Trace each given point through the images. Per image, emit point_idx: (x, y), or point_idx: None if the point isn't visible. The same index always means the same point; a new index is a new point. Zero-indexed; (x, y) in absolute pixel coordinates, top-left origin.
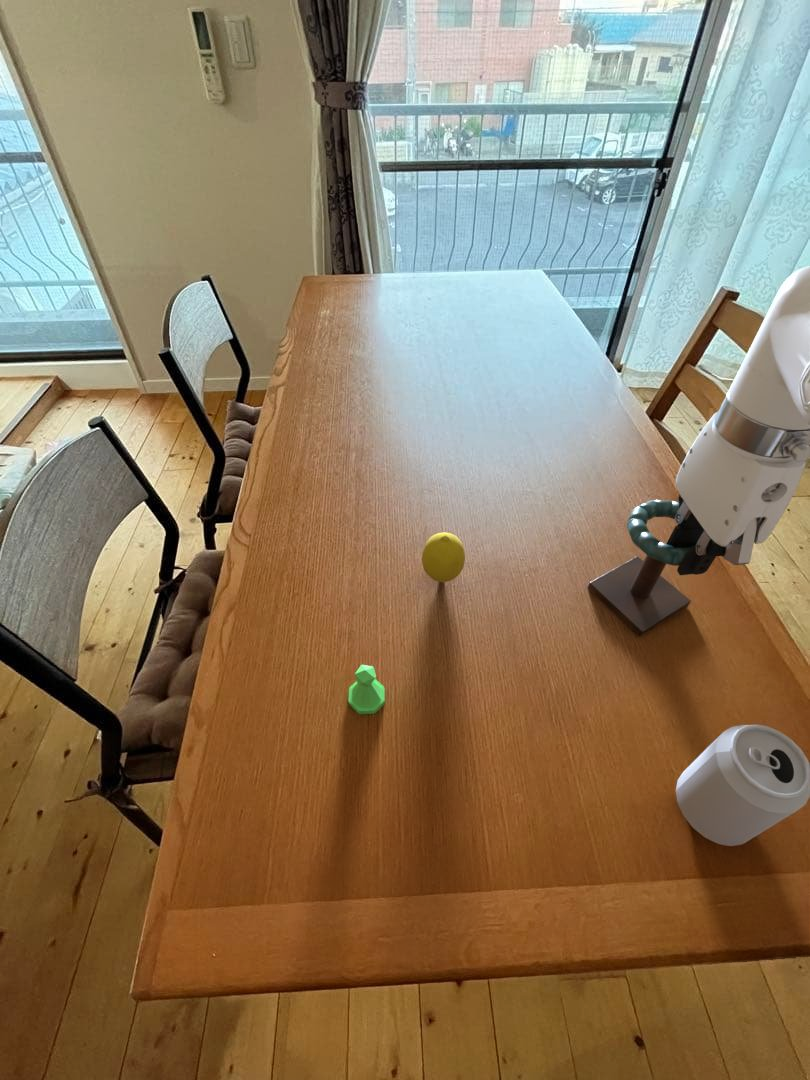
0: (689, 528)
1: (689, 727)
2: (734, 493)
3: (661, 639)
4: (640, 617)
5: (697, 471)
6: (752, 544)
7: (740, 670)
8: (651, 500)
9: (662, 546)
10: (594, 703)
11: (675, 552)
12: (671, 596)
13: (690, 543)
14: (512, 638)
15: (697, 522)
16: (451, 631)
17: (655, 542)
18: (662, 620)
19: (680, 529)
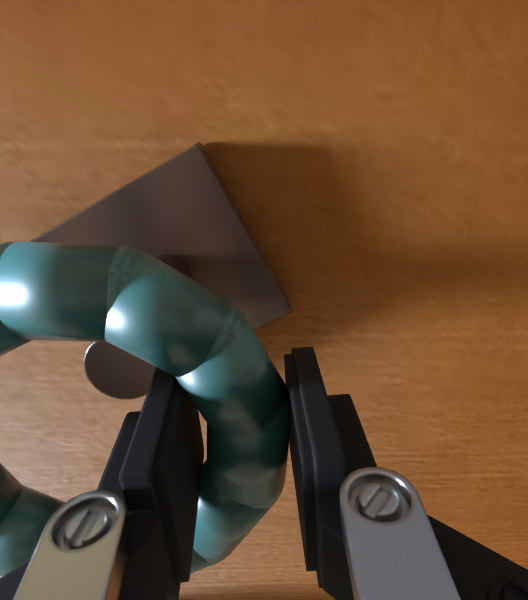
0: (166, 543)
1: (512, 274)
2: None
3: (299, 253)
4: (249, 303)
5: None
6: None
7: (413, 82)
8: None
9: (220, 548)
10: (422, 423)
11: (256, 512)
12: (181, 197)
13: (187, 420)
14: (272, 518)
15: (150, 563)
16: (252, 592)
17: (196, 564)
18: (256, 245)
19: (175, 580)
